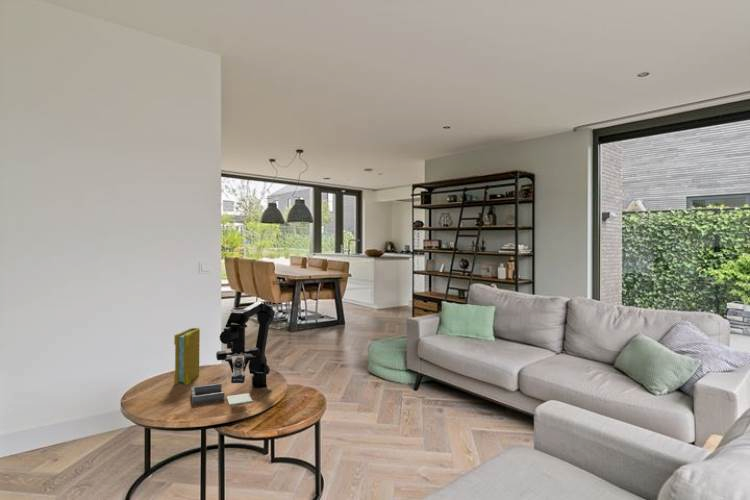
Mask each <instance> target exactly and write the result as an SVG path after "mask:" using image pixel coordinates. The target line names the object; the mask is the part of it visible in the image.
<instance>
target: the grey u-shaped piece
mask: <svg viewBox="0 0 750 500" xmlns="http://www.w3.org/2000/svg"><path fill="white" fill-rule="evenodd" d="M190 388H191V389H190V393H191V394H190V395H191V405H192V406H196V405H200V404H208V403H214V402H221V400H222V401H225V391H222V383H221V382H220V383H214V384H213V383H212V384H205V385H198V386H191V387H190Z"/></svg>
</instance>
